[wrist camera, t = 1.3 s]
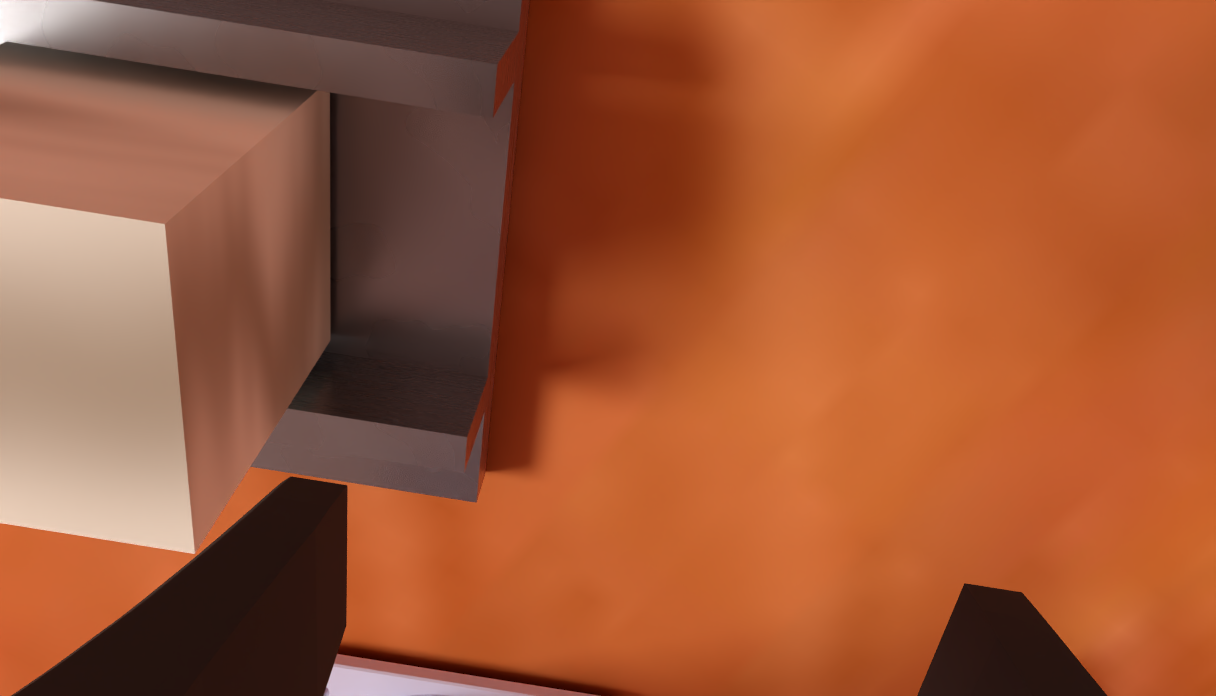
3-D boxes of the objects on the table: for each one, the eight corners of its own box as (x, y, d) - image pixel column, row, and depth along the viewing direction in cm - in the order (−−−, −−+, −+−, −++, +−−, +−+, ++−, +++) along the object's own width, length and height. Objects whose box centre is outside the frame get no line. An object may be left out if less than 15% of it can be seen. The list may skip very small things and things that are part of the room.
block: (330, 340, 19) (194, 553, 14) (69, 298, 19) (-162, 497, 14) (329, 79, 17) (164, 224, 12) (29, 31, 17) (-269, 155, 12)
